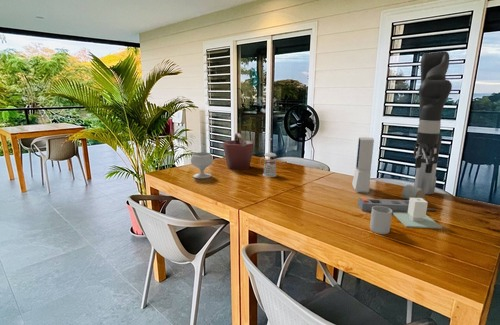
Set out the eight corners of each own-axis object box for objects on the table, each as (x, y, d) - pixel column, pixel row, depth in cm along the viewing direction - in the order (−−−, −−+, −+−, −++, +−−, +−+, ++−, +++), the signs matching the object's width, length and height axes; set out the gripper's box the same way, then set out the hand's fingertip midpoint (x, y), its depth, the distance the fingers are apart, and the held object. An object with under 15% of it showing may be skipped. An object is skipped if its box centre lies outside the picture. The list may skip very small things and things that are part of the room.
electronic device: (369, 193, 155) (375, 139, 148) (354, 192, 157) (360, 138, 150) (365, 186, 167) (370, 136, 160) (351, 185, 168) (356, 135, 161)
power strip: (430, 208, 136) (432, 199, 135) (438, 213, 129) (440, 205, 128) (357, 205, 139) (358, 196, 138) (361, 210, 132) (362, 202, 131)
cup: (366, 230, 112) (369, 209, 110) (375, 222, 120) (377, 202, 118) (386, 236, 108) (388, 214, 106) (393, 227, 115) (396, 207, 113)
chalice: (217, 176, 186) (217, 153, 183) (201, 180, 176) (200, 157, 172) (203, 172, 195) (202, 151, 192) (187, 176, 185) (186, 154, 181)
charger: (418, 217, 124) (421, 197, 122) (424, 221, 119) (427, 202, 117) (406, 216, 124) (409, 197, 122) (412, 221, 120) (415, 201, 118)
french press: (277, 177, 186) (278, 139, 180) (259, 176, 186) (260, 139, 180) (276, 173, 195) (277, 137, 189) (259, 172, 195) (260, 136, 190)
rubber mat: (424, 214, 128) (424, 213, 128) (441, 228, 115) (442, 227, 114) (392, 213, 129) (392, 212, 129) (405, 227, 116) (406, 225, 116)
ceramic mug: (415, 204, 140) (418, 189, 138) (400, 199, 147) (402, 185, 145) (428, 201, 145) (431, 187, 143) (413, 196, 152) (415, 182, 150)
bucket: (253, 171, 199) (253, 136, 193) (221, 171, 199) (221, 135, 193) (253, 163, 223) (253, 131, 217) (225, 163, 223) (224, 131, 217)
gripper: (448, 134, 107) (441, 175, 111) (428, 129, 121) (423, 166, 124) (428, 133, 107) (421, 174, 111) (410, 129, 121) (405, 165, 125)
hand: (422, 170), depth 118 cm, fingers open, 8 cm apart
